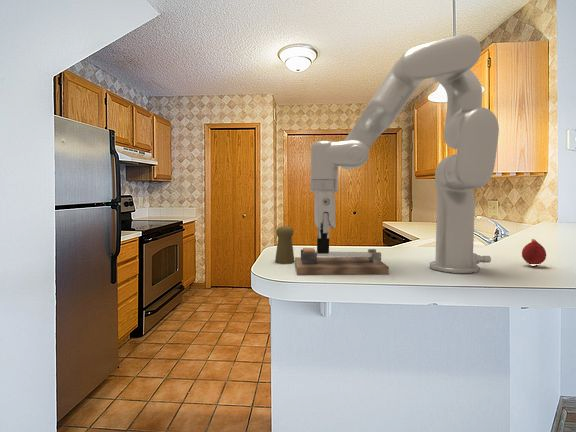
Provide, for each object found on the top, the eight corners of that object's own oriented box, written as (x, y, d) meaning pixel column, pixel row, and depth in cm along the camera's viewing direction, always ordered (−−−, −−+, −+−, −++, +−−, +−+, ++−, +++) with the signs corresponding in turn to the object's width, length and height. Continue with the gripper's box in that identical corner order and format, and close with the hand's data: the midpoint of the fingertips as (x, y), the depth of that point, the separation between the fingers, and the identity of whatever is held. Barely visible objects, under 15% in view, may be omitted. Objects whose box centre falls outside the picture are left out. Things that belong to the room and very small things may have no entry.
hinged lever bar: (374, 255, 105) (374, 248, 104) (377, 257, 101) (378, 250, 101) (302, 254, 104) (302, 247, 104) (303, 256, 101) (303, 249, 101)
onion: (545, 266, 106) (546, 238, 105) (546, 269, 101) (547, 241, 100) (521, 263, 109) (522, 237, 108) (521, 267, 104) (522, 239, 104)
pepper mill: (292, 264, 109) (292, 227, 108) (272, 263, 110) (272, 227, 109) (296, 260, 115) (296, 225, 114) (277, 259, 116) (277, 225, 115)
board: (374, 263, 110) (375, 246, 110) (388, 274, 96) (389, 255, 96) (295, 264, 110) (295, 247, 109) (297, 275, 96) (297, 256, 95)
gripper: (342, 186, 94) (340, 257, 95) (333, 187, 109) (332, 248, 110) (312, 186, 94) (311, 257, 95) (308, 186, 108) (307, 248, 110)
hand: (322, 252), depth 102 cm, fingers closed
